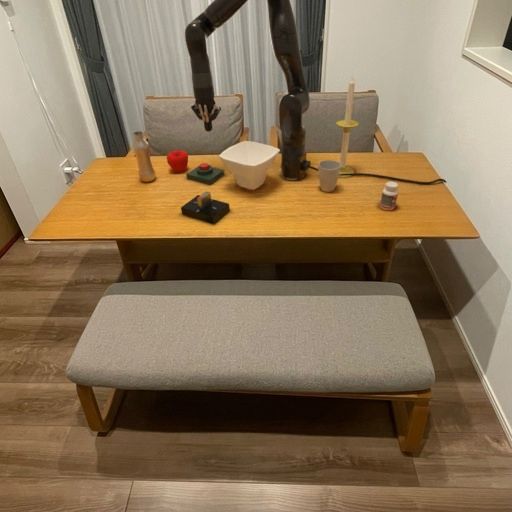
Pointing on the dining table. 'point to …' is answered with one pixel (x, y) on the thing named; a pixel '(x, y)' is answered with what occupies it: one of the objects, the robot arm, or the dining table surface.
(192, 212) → the panel
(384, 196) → the pill bottle
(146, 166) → the plastic bottle
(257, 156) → the bowl
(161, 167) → the dining table surface
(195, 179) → the dark grey base plate
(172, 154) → the apple
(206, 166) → the button
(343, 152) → the candle
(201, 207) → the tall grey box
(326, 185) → the cup
